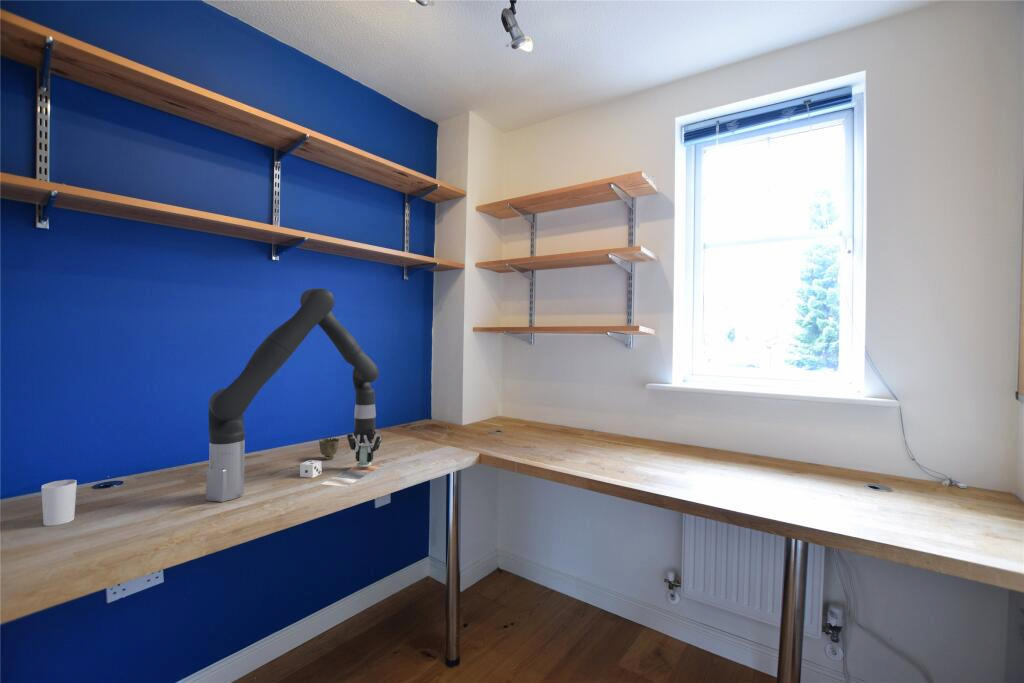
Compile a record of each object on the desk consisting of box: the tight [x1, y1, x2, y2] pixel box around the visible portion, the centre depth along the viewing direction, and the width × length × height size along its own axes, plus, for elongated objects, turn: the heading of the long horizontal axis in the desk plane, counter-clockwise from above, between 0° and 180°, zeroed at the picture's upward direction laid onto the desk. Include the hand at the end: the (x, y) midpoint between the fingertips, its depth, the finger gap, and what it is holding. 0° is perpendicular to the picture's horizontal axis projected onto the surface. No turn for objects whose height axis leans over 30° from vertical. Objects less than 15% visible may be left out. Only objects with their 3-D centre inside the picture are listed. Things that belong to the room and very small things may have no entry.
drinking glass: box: [40, 479, 78, 527], centre depth 118 cm, size 7×7×10 cm
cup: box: [318, 437, 340, 461], centre depth 181 cm, size 8×7×8 cm
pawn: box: [356, 445, 372, 467], centre depth 168 cm, size 5×5×7 cm
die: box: [299, 459, 323, 479], centre depth 159 cm, size 5×5×5 cm
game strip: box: [321, 464, 385, 488], centre depth 161 cm, size 25×11×1 cm, turn 168°
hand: (364, 461), depth 168 cm, fingers open, 3 cm apart
